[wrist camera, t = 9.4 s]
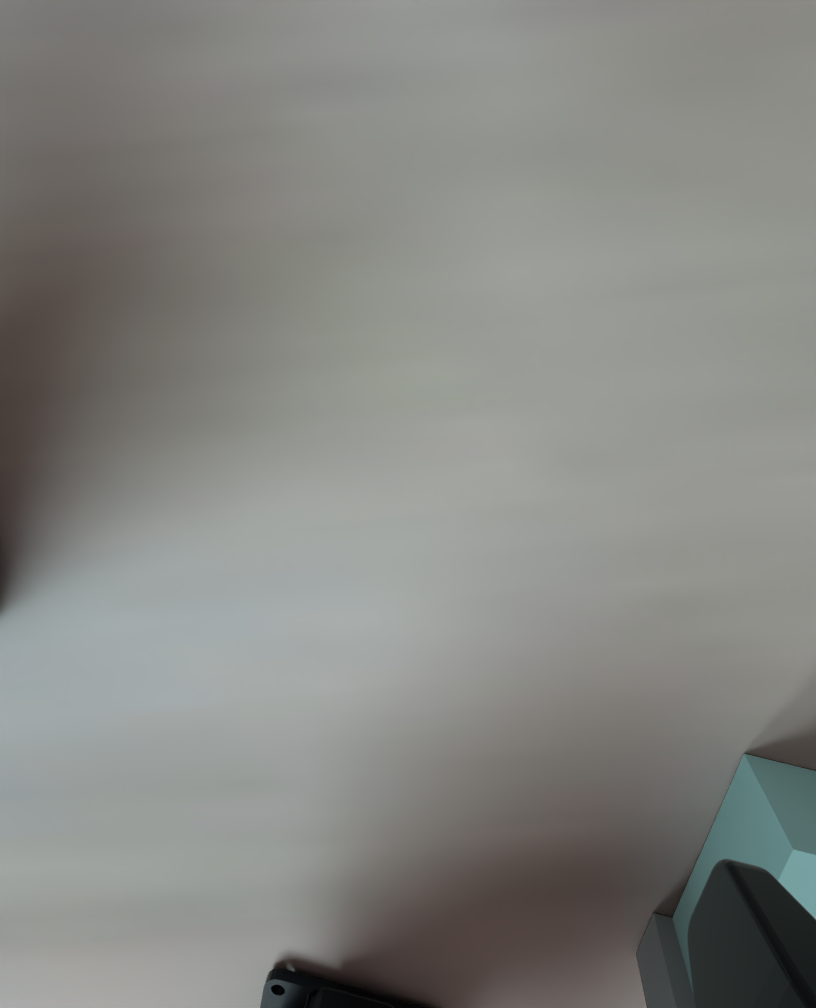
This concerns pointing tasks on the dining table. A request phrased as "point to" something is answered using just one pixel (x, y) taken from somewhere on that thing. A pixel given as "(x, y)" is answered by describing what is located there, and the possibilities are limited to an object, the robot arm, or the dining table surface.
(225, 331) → the dining table surface
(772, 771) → the teal tabbed box
